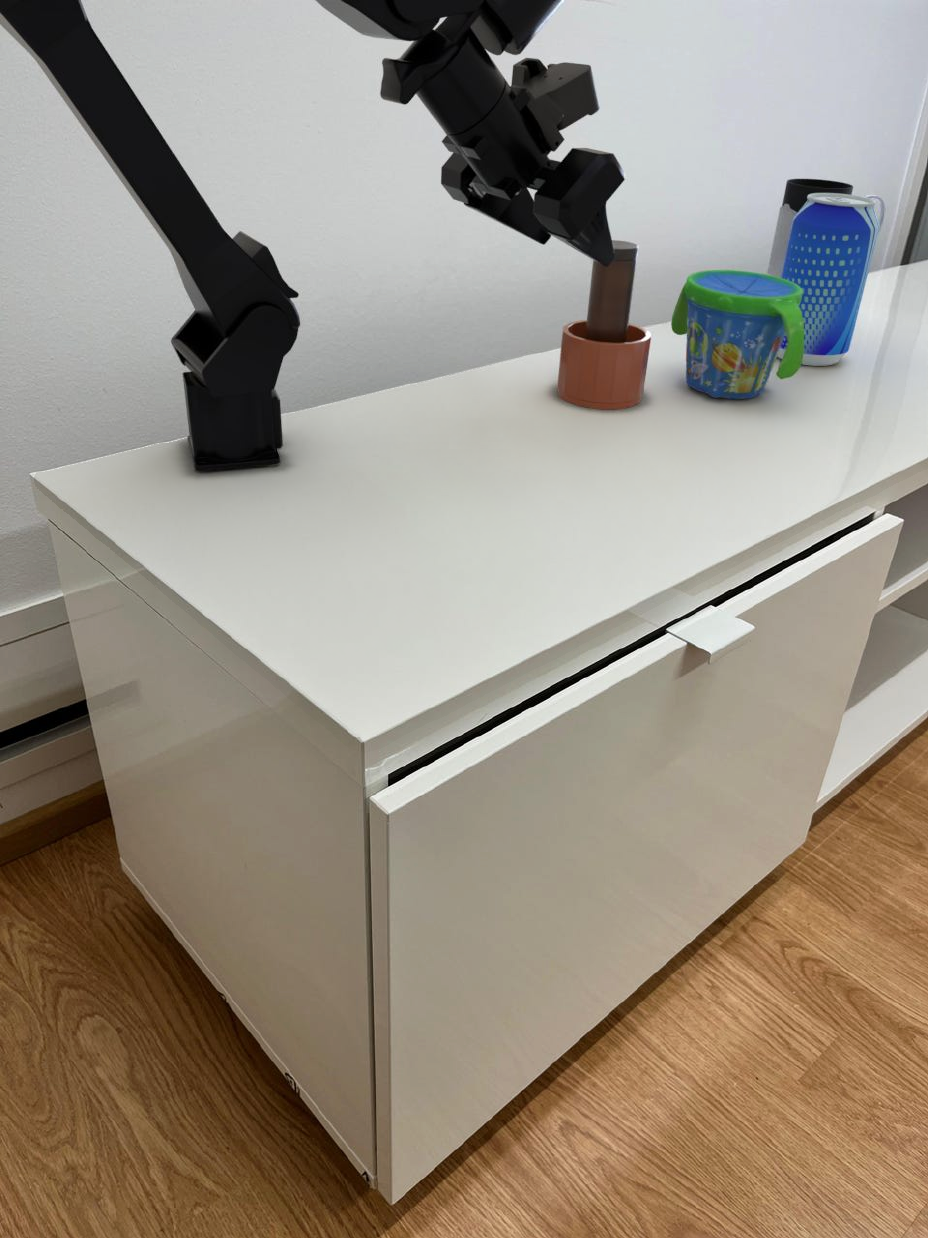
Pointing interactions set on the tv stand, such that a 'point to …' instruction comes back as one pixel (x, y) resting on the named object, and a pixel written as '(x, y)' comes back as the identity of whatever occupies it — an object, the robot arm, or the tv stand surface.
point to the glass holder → (791, 206)
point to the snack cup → (738, 330)
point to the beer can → (830, 270)
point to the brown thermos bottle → (612, 295)
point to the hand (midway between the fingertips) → (577, 250)
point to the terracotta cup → (602, 368)
